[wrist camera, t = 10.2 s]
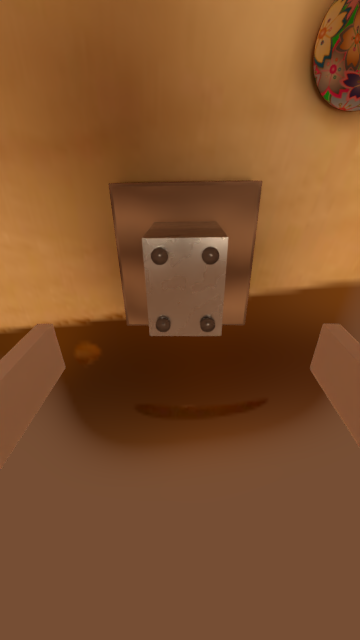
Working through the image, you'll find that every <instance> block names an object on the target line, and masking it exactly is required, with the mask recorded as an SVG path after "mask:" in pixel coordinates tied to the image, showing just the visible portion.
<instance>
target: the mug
mask: <svg viewBox="0 0 360 640" xmlns="http://www.w3.org/2000/svg"><path fill="white" fill-rule="evenodd" d="M313 65H314V76H315V80H316V84H317V87H318V89H319V91H320V93H321V95H322V96H323V98H324V99H325V100H326V101H327V102H328V103H329V104H330V105H332V106H333V107H335V108H338V109H340V110H345V111H357V110H360V0H335V1H334V2H333V4H332V5H331V7H330V9H329V10H328V12H327V14H326V16H325V18H324V20H323V22H322V25H321V28H320V30H319V33H318V36H317V40H316V44H315V50H314V63H313Z"/></svg>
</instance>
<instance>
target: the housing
mask: <svg viewBox="0 0 360 640" xmlns="http://www.w3.org/2000/svg"><path fill="white" fill-rule="evenodd" d="M142 247H143V259H144V271H145V283H146V295H147V307H148V319H149V332H150V336H221V332H222V319H223V305H224V291H225V277H226V264H227V250H228V236H227V235H226V233H225V232H224V231H223V229H222V228H221V227H220V225H219V224H218V223H217V221H194V222H154V223H153V224H152V226H151V227H150V228H149V230H148V231H147V232H146V233H145V235H144V236H143V237H142Z"/></svg>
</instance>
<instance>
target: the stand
mask: <svg viewBox="0 0 360 640" xmlns="http://www.w3.org/2000/svg"><path fill="white" fill-rule="evenodd" d="M261 186H262V181H214V182H158V183H111V184H109V190H110V197H111V205H112V213H113V220H114V228H115V236H116V243H117V251H118V259H119V266H120V274H121V281H122V289H123V297H124V304H125V312H126V320H127V325H149V319H148V307H147V295H146V283H145V271H144V259H143V247H142V237H143V236H144V235H145V233H146V232H147V231H148V230H149V228H150V227H151V226H152V224H153V223H154V222H194V221H217V223H218V224H219V225H220V227H221V228H222V229H223V231H224V232H225V233H226V235H227V236H228V250H227V264H226V277H225V291H224V305H223V319H222V325H245V318H246V310H247V303H248V294H249V286H250V278H251V269H252V261H253V253H254V245H255V236H256V228H257V220H258V211H259V203H260V195H261Z"/></svg>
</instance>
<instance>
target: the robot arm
mask: <svg viewBox="0 0 360 640" xmlns="http://www.w3.org/2000/svg"><path fill="white" fill-rule="evenodd" d="M64 369H65V364H64V361H63V357H62V354H61V351H60V347H59V344H58V341H57V338H56V334H55V331H54V327H53V324H37V325H36V326H35V327H34V328H33V329H32V330H31V331H30V332H29V333H28V334H27V335H26V336H24V337H23V338H22V339H21V341H19V342H18V343H17V345H15V346H14V347H13V348H12V349H11V350H10V351H9V352H8V353H7V354H6V355H5V356H4V357H3V358H2V359H1V360H0V470H1V468H2V466H3V465H4V463H5V462H6V460H7V459H8V457H9V456H10V454H11V452H12V451H13V449H14V447H15V446H16V444H17V443H18V441H19V440H20V438H21V437H22V435H23V433H24V432H25V430H26V429H27V427H28V425H29V424H30V423H31V421H32V419H33V418H34V416H35V415H36V413H37V412H38V410H39V408H40V407H41V405H42V404H43V402H44V400H45V399H46V397H47V396H48V394H49V393H50V391H51V390H52V388H53V387H54V385H55V383H56V382H57V380H58V379H59V377H60V376H61V374H62V372H63V371H64ZM310 370H311V372H312V373H313V375H314V376H315V378H316V380H317V381H318V383H319V384H320V386H321V387H322V389H323V391H324V392H325V394H326V395H327V397H328V398H329V400H330V402H331V403H332V405H333V407H334V408H335V410H336V411H337V413H338V414H339V416H340V418H341V419H342V421H343V422H344V424H345V425H346V427H347V429H348V430H349V432H350V433H351V435H352V437H353V438H354V440H355V441H356V443H357V444H358V446H359V448H360V343H358V342H357V341H356V340H355V339H354V338H353V337H352V336H351V335H350V334H349V333H348V332H347V331H346V330H345V329H344V328H343V327H342V326H341V325H340V324H323V326H322V329H321V333H320V336H319V340H318V343H317V346H316V350H315V353H314V356H313V360H312V363H311V366H310Z"/></svg>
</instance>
